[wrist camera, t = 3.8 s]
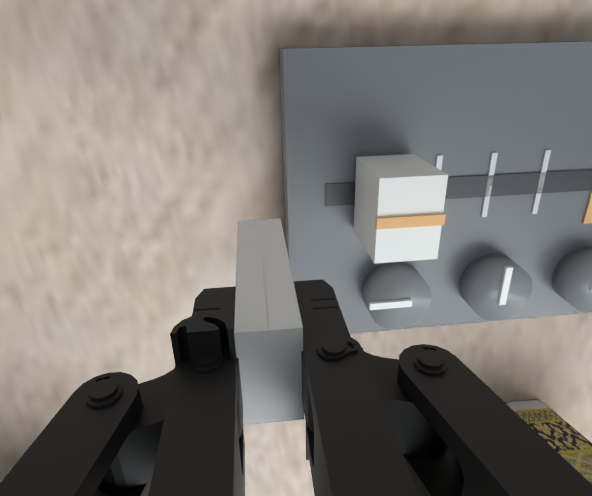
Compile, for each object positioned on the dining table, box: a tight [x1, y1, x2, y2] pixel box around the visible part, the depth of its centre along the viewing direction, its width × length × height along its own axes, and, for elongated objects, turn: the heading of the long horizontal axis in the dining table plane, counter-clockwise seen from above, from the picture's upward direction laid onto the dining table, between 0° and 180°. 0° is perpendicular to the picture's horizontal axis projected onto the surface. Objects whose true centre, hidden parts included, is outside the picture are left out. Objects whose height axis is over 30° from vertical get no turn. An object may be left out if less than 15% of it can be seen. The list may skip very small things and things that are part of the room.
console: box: [279, 41, 592, 334], centre depth 24 cm, size 24×16×4 cm, turn 91°
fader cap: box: [354, 154, 448, 264], centre depth 21 cm, size 3×4×4 cm
